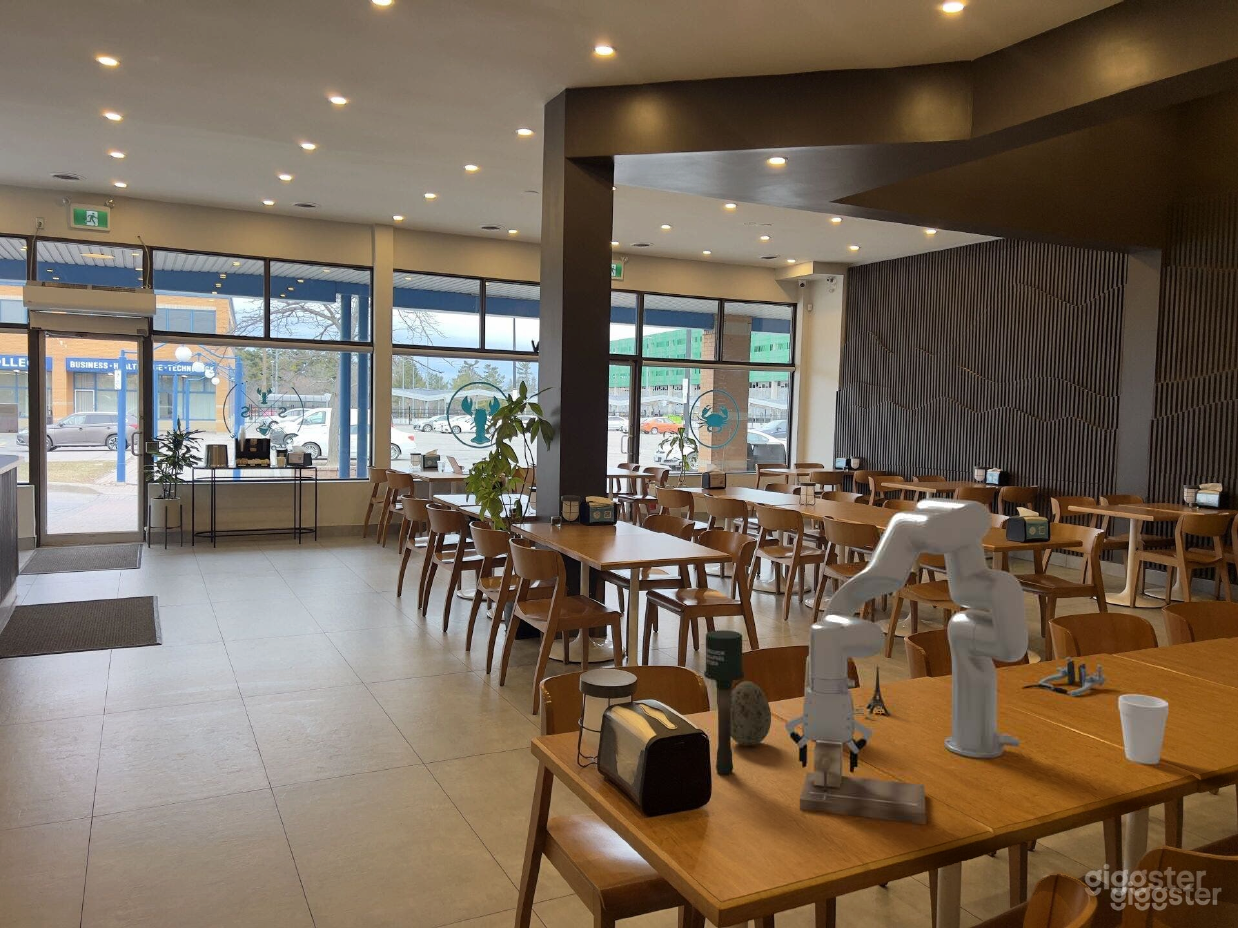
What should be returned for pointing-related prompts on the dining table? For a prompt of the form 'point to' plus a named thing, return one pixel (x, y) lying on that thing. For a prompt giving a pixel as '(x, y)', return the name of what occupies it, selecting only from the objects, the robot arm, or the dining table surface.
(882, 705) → the eiffel tower figurine
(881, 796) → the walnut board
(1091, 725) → the dining table surface
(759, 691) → the decorative egg
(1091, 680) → the bike brake
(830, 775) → the block
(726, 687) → the stick grenade
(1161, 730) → the foam cup
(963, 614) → the robot arm
